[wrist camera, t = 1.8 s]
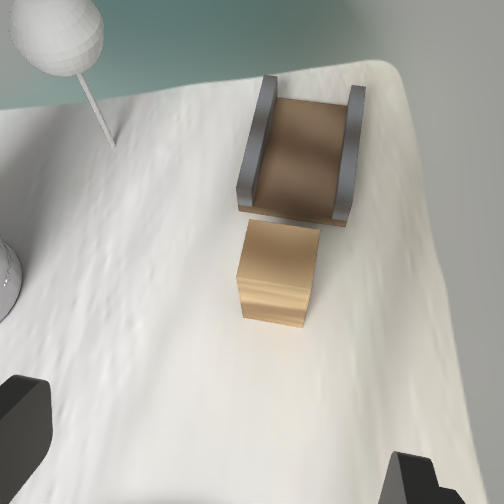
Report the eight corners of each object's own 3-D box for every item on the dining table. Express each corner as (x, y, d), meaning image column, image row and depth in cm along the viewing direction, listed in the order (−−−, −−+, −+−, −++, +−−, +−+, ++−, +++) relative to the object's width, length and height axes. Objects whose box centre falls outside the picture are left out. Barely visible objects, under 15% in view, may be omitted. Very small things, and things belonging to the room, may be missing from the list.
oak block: (302, 328, 34) (311, 289, 27) (243, 317, 34) (236, 276, 27) (310, 278, 36) (320, 229, 28) (253, 269, 36) (249, 219, 29)
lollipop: (153, 122, 43) (100, -38, 29) (137, 174, 40) (71, 25, 27) (90, 117, 43) (9, -43, 30) (71, 167, 41) (-27, 18, 27)
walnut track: (344, 226, 37) (351, 204, 34) (238, 210, 38) (236, 187, 35) (358, 115, 42) (365, 86, 39) (264, 103, 43) (264, 75, 40)
